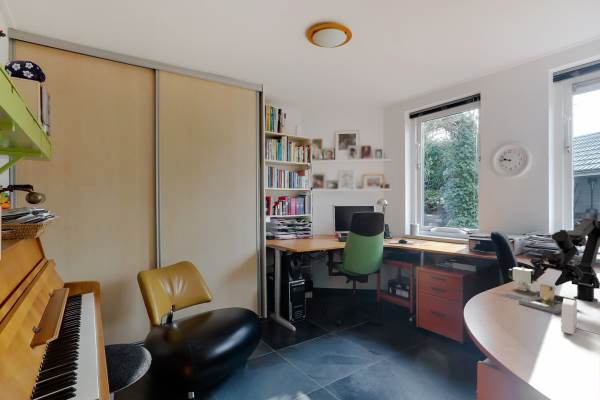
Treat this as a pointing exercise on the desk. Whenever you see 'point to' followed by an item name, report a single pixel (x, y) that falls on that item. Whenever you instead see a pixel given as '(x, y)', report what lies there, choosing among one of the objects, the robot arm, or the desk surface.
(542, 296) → the brass knob
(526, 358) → the desk surface
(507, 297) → the grey square plate
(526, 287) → the pneumatic valve
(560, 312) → the plate
